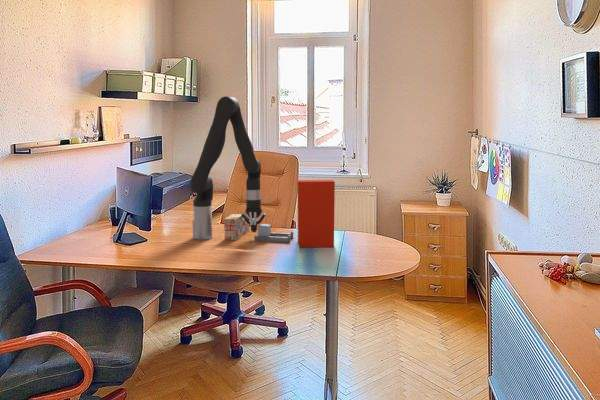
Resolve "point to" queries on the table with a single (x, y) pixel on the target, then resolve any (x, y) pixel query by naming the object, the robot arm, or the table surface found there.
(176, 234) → the table surface
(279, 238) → the chute
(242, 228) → the white product box
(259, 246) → the table surface
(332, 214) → the file binder
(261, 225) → the block
